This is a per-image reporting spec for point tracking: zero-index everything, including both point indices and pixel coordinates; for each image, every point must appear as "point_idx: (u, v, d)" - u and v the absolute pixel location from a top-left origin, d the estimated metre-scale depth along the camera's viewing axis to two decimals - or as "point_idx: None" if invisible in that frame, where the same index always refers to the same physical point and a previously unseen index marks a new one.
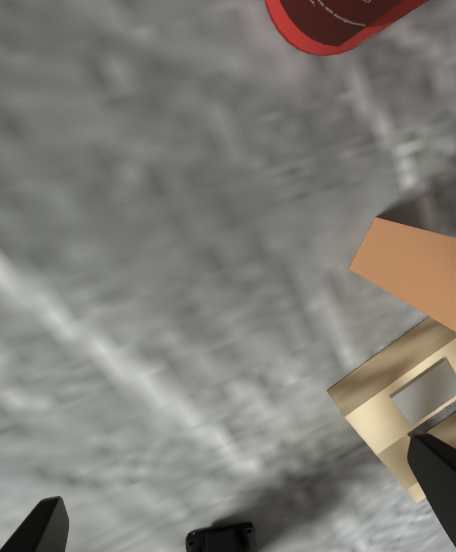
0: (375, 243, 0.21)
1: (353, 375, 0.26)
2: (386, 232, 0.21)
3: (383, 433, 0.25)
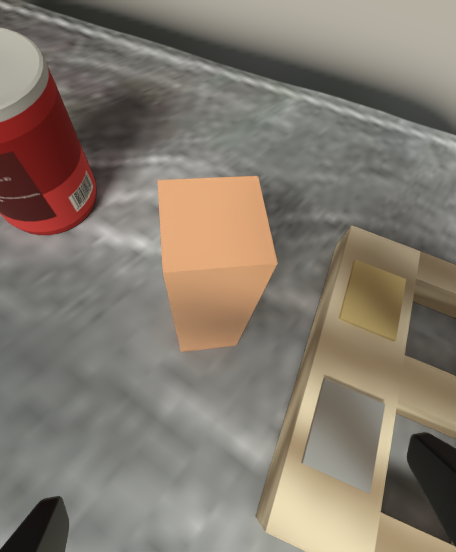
0: None
1: (270, 471, 0.19)
2: None
3: (345, 531, 0.16)
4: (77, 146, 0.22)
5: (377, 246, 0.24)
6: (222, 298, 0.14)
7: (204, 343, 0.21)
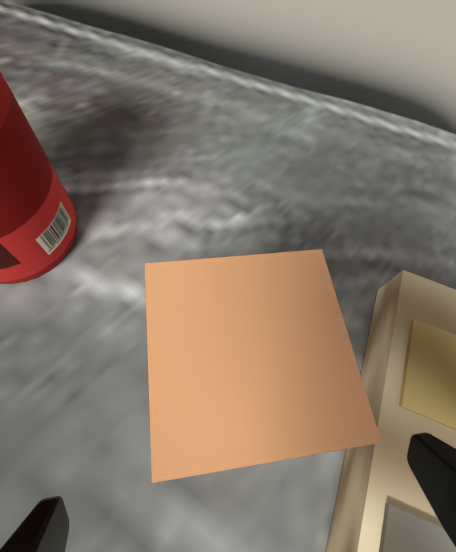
0: None
1: None
2: None
3: None
4: (46, 173, 0.17)
5: (439, 299, 0.18)
6: None
7: None
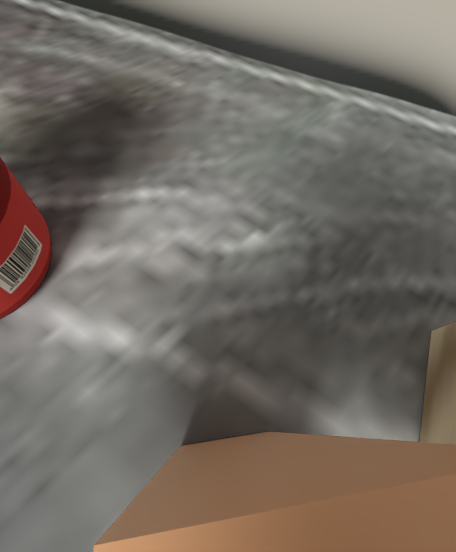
0: None
1: None
2: None
3: None
4: (0, 189, 0.12)
5: None
6: None
7: None
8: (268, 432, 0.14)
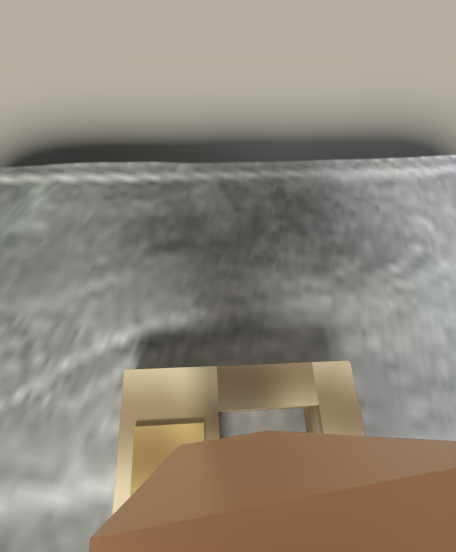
0: None
1: None
2: None
3: None
4: None
5: (163, 387, 0.19)
6: None
7: None
8: (267, 431, 0.14)
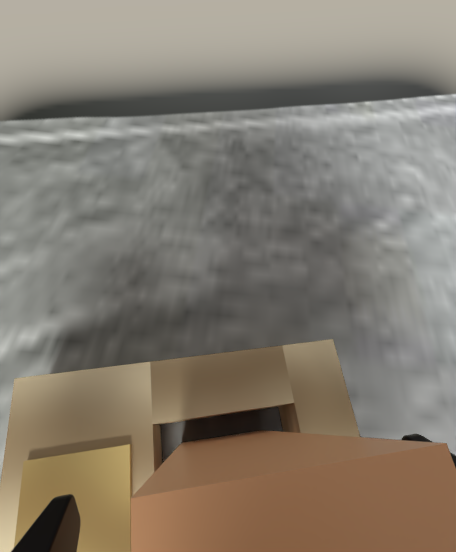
0: None
1: None
2: None
3: None
4: None
5: (71, 398, 0.13)
6: None
7: None
8: None
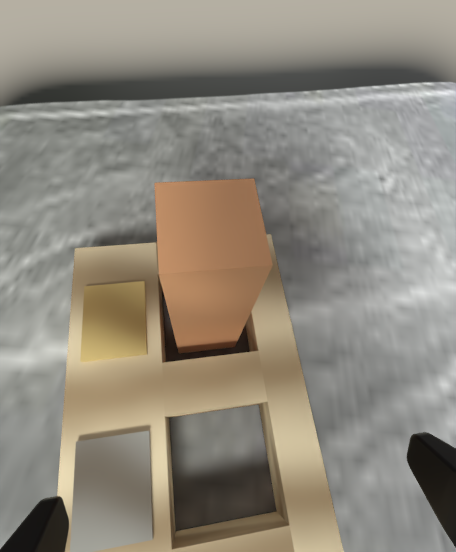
0: None
1: None
2: None
3: None
4: None
5: (109, 259, 0.22)
6: (218, 300, 0.14)
7: (202, 345, 0.21)
8: None
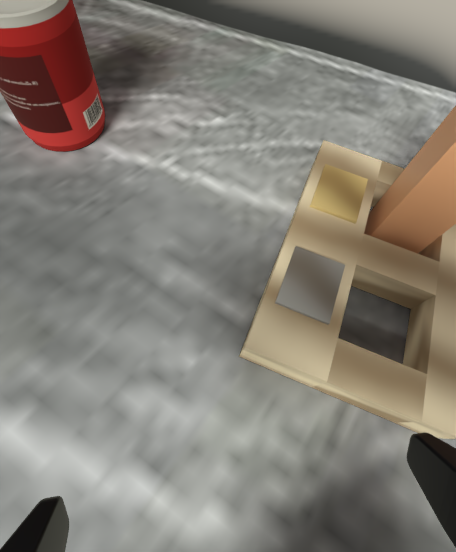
0: (373, 217, 0.28)
1: (251, 324, 0.24)
2: (377, 206, 0.28)
3: (309, 348, 0.20)
4: (90, 67, 0.27)
5: (345, 156, 0.28)
6: None
7: None
8: None
